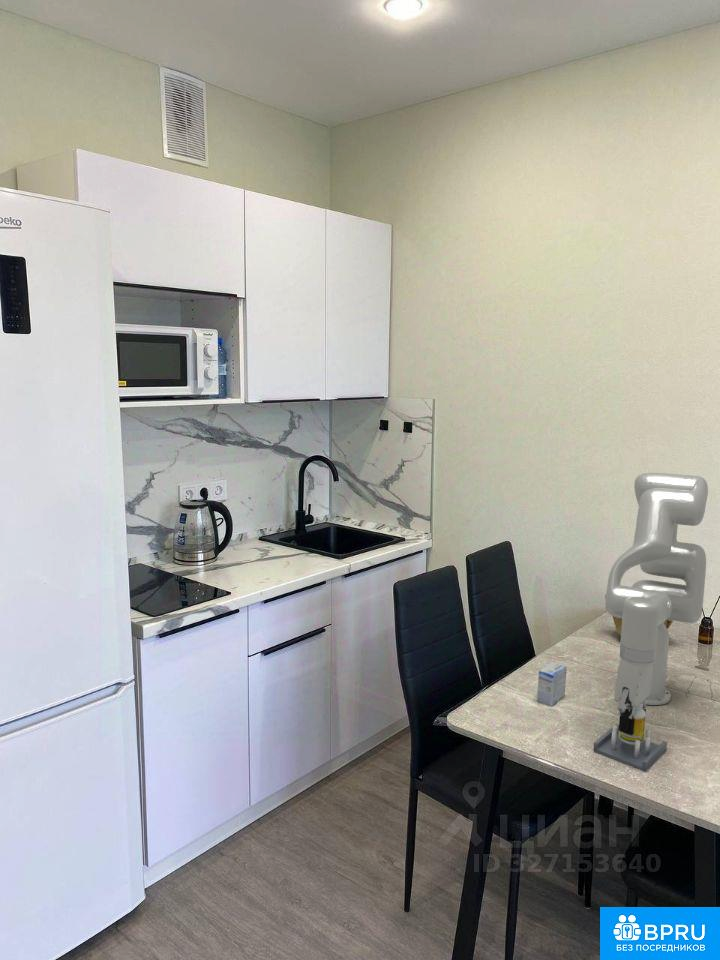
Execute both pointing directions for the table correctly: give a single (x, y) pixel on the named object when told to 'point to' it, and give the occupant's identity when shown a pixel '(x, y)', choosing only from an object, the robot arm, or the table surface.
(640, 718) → the supplement bottle
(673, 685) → the table surface
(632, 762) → the tray
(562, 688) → the medicine box
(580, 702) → the table surface
